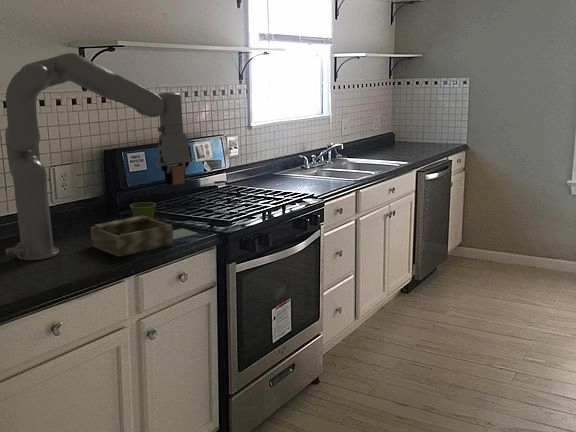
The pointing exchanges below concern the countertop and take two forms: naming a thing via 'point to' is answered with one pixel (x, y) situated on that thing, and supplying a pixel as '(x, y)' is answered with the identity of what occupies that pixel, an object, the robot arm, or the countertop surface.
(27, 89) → the robot arm
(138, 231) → the crate
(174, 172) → the block
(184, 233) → the mat
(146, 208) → the plant pot
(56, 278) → the countertop surface
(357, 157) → the countertop surface
